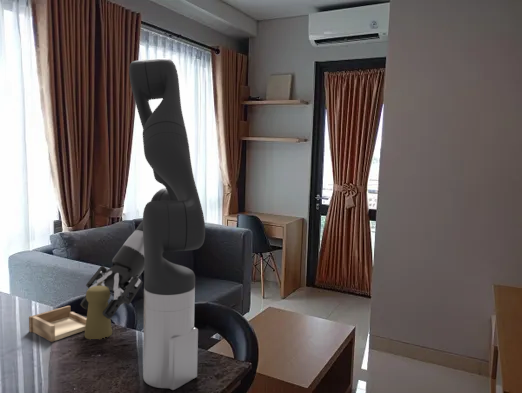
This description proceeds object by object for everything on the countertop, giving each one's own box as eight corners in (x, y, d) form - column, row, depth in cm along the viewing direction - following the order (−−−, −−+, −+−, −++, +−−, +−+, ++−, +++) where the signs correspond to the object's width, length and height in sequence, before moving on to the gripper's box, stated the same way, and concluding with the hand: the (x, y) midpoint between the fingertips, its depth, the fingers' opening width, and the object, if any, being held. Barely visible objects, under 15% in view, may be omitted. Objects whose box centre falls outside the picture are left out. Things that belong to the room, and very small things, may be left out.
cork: (116, 329, 101) (116, 284, 100) (105, 340, 95) (104, 292, 94) (92, 327, 102) (91, 282, 101) (78, 338, 96) (78, 290, 95)
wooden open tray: (91, 328, 101) (91, 313, 101) (49, 342, 93) (49, 327, 93) (70, 318, 106) (70, 304, 106) (29, 331, 98) (28, 316, 98)
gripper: (109, 240, 107) (65, 296, 99) (146, 249, 99) (102, 311, 90) (126, 257, 112) (86, 312, 104) (164, 267, 103) (123, 328, 95)
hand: (94, 312), depth 97 cm, fingers open, 8 cm apart
